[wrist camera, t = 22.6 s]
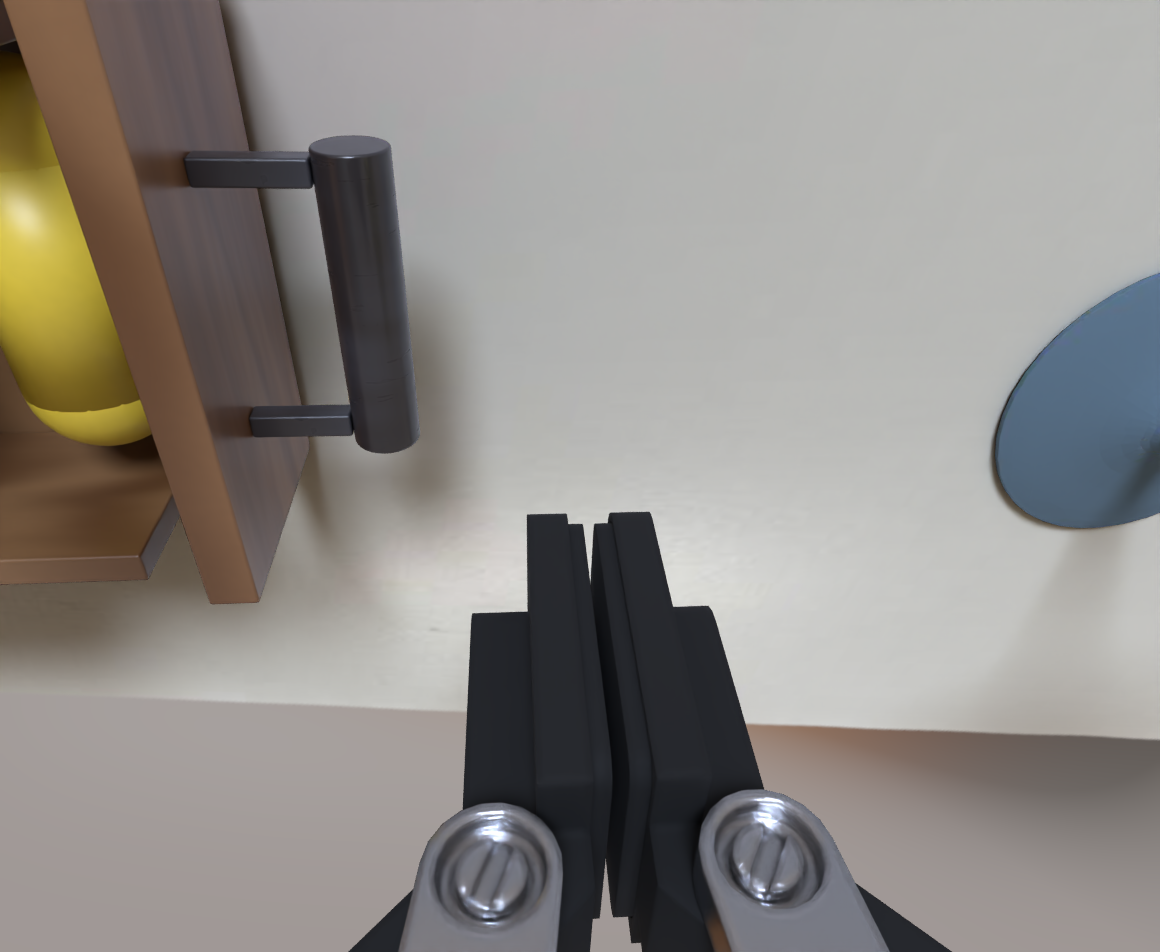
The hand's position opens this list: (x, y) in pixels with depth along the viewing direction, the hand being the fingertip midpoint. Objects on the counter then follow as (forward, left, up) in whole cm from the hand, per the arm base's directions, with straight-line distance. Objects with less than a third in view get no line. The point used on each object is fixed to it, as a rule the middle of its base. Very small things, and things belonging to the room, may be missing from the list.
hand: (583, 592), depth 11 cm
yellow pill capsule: (-6, -10, -12) cm, 17 cm away
